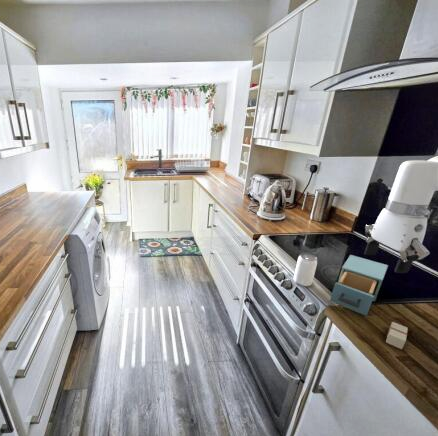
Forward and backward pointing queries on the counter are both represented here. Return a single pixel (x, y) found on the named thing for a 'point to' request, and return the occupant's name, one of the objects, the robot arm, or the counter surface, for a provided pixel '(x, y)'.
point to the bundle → (397, 335)
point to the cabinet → (365, 270)
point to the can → (305, 269)
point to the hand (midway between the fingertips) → (384, 262)
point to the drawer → (354, 292)
